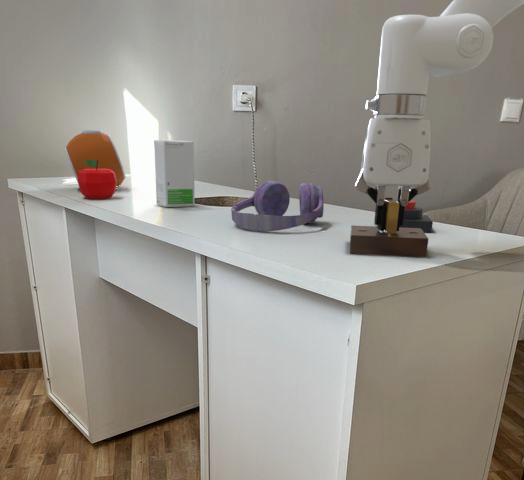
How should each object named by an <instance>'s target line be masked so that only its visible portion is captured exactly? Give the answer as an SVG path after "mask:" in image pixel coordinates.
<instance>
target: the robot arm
mask: <svg viewBox="0 0 524 480" xmlns="http://www.w3.org/2000/svg"><path fill="white" fill-rule="evenodd" d="M523 5H524V0H452V1H451V2H450V3H449V4H448V6H447V7H446V8H445V9H444V11H443V12H442V13H441V14H439V16H427V15H423V14H399V15H394V16H391V17H389V18H388V19H386V20H385V22H384V24H383V25H382V27H381V28H382V29H381V38H380V49H379V60H378V73H377V85H376V95H375V97H374V98H371V99H367V100H366V103H365V110H369V111H372V112H373V115H374V116H373V117H372V118H370V119H369V122H368V126H367V129H366V133H365V134H366V135H365V140H364V146H363V151H362V157H361V166H360V172H359V175H358V177H357V179H356V182H355V183H354V189H356V190H357V191H359V192H361V193H364V194H366V195H368V196H369V198H370V199H371V200H372V201H373V203H374V204H375V210H374V226H377V228H378V229H379V230H380V231H384V230H385V225H386V214H387V206H385V203H386V202H385V197H386V188H387V187H397V194H396V199H395V201H397V202H399V212H398V222H397V231H399V227H400V225H402V224H403V218H404V209H405V206H406V205H407V204H408V202H409V201H413V199H414V198H415V197H416V196H418V195H421V194H424V193H427V192H429V191H430V189H431V187H430V182H429V175H430V162H431V121H430V119H429V118H425V114H426V105H427V97H428V96H427V95H428V87H429V79H430V76H433V77H436V78H441V77H448V76H451V75H457V74H461V73H466V72H469V71H471V70H474V69H475V68H477V67H478V66H480V65H481V64H482V63H483V62H484V61H485V60H486V59H487V57H489V55H490V52H491V51H492V48H493V44H494V32H493V28H494V27H495V26H496V25H497V24H498V23H499V22H500V21H502V20H503V19H504V18H505V17H506V16H508V15H509V14H511V13H512V12H513V11H515V10H516V9H518V8H520V7H521V6H523ZM369 185H370V186H369ZM372 186H374V187H372Z"/></svg>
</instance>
